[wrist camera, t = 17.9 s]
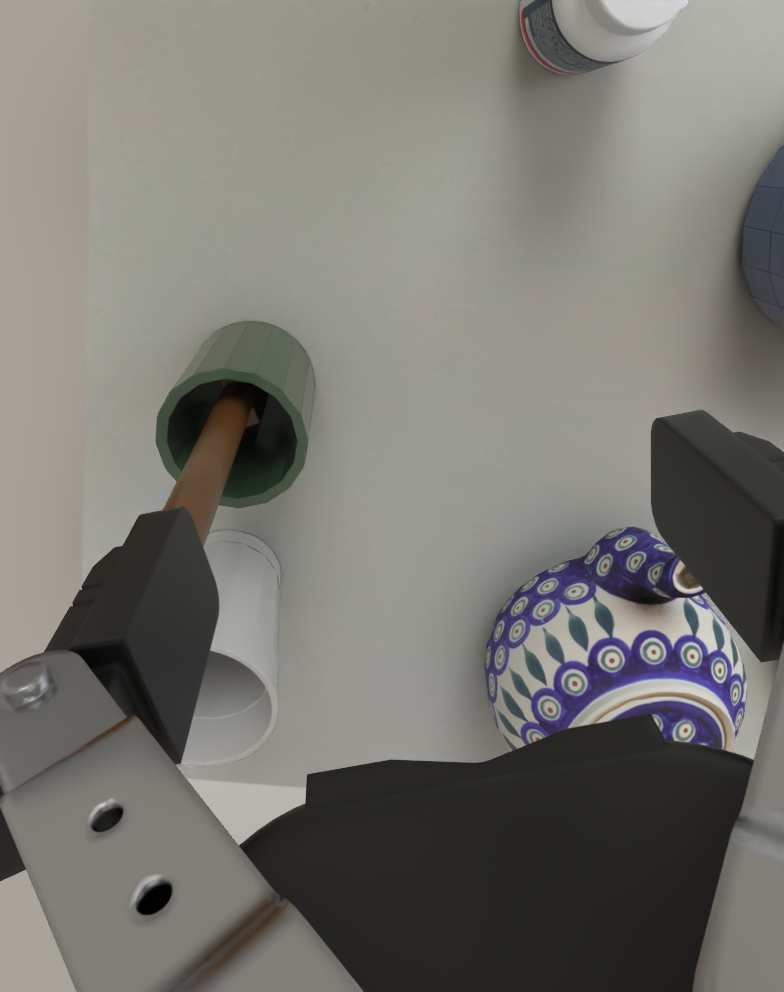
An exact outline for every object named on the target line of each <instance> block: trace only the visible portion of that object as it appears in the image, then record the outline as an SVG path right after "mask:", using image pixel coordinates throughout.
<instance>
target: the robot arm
mask: <svg viewBox="0 0 784 992" xmlns="http://www.w3.org/2000/svg"><path fill="white" fill-rule="evenodd" d="M651 506H652V513H653V517H654V520H655V524H656V526H657V529H658V531H659V533H660V534H661V536H662V537H663V539H664V540H665V541H666V542H667V544H668V545H669V546H670V547H671V549H672V550H673V551H674V553H675V554H676V555H677V556H678V558H679V559H680V560H681V561H682V563H683V564H684V565H685V567H686V568H687V569H688V570H689V572H690V573H691V574H692V575H693V577H694V578H695V579H696V580H697V582H698V583H699V584H700V586H701V587H702V588H703V589H704V591H705V592H706V593H707V594H708V596H709V597H710V598H711V600H712V601H713V602H714V603H715V605H716V606H717V607H718V608H719V610H720V611H721V612H722V613H723V615H724V616H725V617H726V619H727V620H728V621H729V622H730V624H731V625H732V626H733V627H734V629H735V630H736V631H737V633H738V634H739V635H740V636H741V638H742V639H743V640H744V641H745V643H746V644H747V645H748V646H749V648H750V649H751V650H752V652H753V653H754V654H755V655H756V657H757V658H758V659H759V660H760V662H766V661H772V660H777V659H779V663H778V667H777V671H776V675H775V679H774V683H773V687H772V691H771V695H770V699H769V703H768V707H767V711H766V715H765V719H764V722H763V726H762V730H761V734H760V738H759V742H758V746H757V750H756V754H755V758H754V760H752V759H750V758H747V757H745V756H742V755H739V754H736V753H733V752H730V751H726V750H723V749H720V748H715V747H711V746H706V745H702V744H696V743H689V742H682V741H668V740H665V739H664V737H663V735H662V733H661V731H660V729H659V727H658V725H657V724H656V722H655V720H654V718H653V716H652V714H646V715H641V716H635V717H629V718H624V719H618V720H612V721H607V722H601V723H595V724H590V725H584V726H578V727H573V728H567V729H564V730H562V731H559V732H557V733H554V734H552V735H549V736H547V737H545V738H542V739H540V740H537V741H535V742H533V743H530V744H528V745H525V746H523V747H521V748H518V749H516V750H513V751H511V752H508V753H506V754H504V755H501V756H499V757H496V758H494V759H492V760H489V761H486V762H480V763H461V762H436V761H411V760H386V761H381V762H375V763H369V764H364V765H358V766H352V767H347V768H341V769H335V770H330V771H324V772H318V773H313V774H307V786H306V803H305V804H303V805H301V806H298V807H296V808H294V809H292V810H290V811H288V812H286V813H285V814H283V815H281V816H279V817H277V818H276V819H274V820H272V821H271V822H269V823H268V824H266V825H265V826H264V827H262V828H261V829H259V830H258V831H256V832H255V833H254V834H253V835H251V836H250V837H249V838H248V839H247V840H245V841H244V842H243V843H242V844H240V845H238V844H237V843H236V842H235V840H234V839H233V838H232V836H231V835H230V834H229V833H228V831H227V830H226V829H225V828H224V826H223V825H222V824H221V822H220V821H219V820H218V819H217V817H216V816H215V815H214V814H213V813H212V811H211V810H210V809H209V807H208V806H207V805H206V803H205V802H204V801H203V800H202V798H201V797H200V796H199V794H198V793H197V792H196V791H195V790H194V788H193V787H192V786H191V784H190V783H189V782H188V780H187V779H186V778H185V777H184V775H183V774H182V773H181V771H180V770H179V769H178V768H177V766H176V764H181V762H182V758H183V754H184V750H185V746H186V742H187V738H188V734H189V730H190V727H191V723H192V719H193V715H194V711H195V707H196V703H197V699H198V695H199V691H200V687H201V684H202V680H203V676H204V672H205V668H206V664H207V660H208V656H209V652H210V648H211V644H212V641H213V637H214V633H215V629H216V625H217V621H218V617H219V594H218V589H217V584H216V581H215V578H214V575H213V572H212V570H211V567H210V564H209V561H208V559H207V556H206V553H205V550H204V548H203V545H202V542H201V539H200V536H199V534H198V531H197V528H196V525H195V523H194V520H193V518H192V515H191V513H190V512H189V510H188V509H187V508H186V507H177V508H172V509H167V510H162V511H156V512H151V513H146V514H141V515H139V517H138V518H137V520H136V522H135V524H134V526H133V527H132V529H131V531H130V533H129V535H128V537H127V539H126V541H125V543H124V544H123V546H120V547H115V548H113V549H112V550H111V551H110V552H109V553H108V554H107V555H106V556H104V557H103V558H102V559H101V560H100V561H99V562H98V563H97V564H95V565H94V566H93V567H92V569H91V571H90V573H89V574H88V576H87V578H86V580H85V581H84V583H83V585H82V590H79V592H78V594H77V595H76V597H75V599H74V601H73V606H71V607H70V608H69V610H68V611H67V613H66V615H65V616H64V618H63V620H62V621H61V623H60V625H59V627H58V629H57V630H56V632H55V634H54V635H53V638H52V639H51V641H50V642H49V644H48V646H47V648H46V650H45V651H44V653H41V654H38V655H34V656H31V657H29V658H27V659H24V660H22V661H20V662H18V663H16V664H14V665H12V666H11V667H9V668H7V669H6V670H4V671H3V672H1V673H0V881H2V880H4V879H6V878H8V877H11V876H13V875H15V874H17V873H19V872H22V871H24V870H27V873H28V875H29V878H30V880H31V882H32V885H33V887H34V890H35V892H36V895H37V897H38V899H39V902H40V904H41V907H42V909H43V912H44V914H45V916H46V919H47V921H48V924H49V926H50V928H51V931H52V933H53V936H54V938H55V941H56V943H57V945H58V948H59V950H60V952H61V955H62V958H63V960H64V962H65V965H66V967H67V970H68V972H69V974H70V977H71V979H72V982H73V984H74V987H75V989H76V991H77V992H784V452H783V451H781V450H780V449H779V448H777V447H776V446H774V445H773V444H772V443H770V442H769V441H766V440H763V439H760V438H757V437H754V436H751V435H748V434H745V433H742V432H735V433H733V432H731V431H730V430H729V429H728V428H726V427H725V426H724V425H722V424H721V423H720V422H718V421H717V420H716V419H715V418H713V417H712V416H711V415H709V414H708V413H707V412H705V411H704V410H698V411H692V412H687V413H682V414H677V415H671V416H666V417H661V418H656V419H655V420H654V422H653V424H652V429H651Z"/></svg>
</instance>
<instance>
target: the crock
mask: <svg viewBox="0 0 784 992" xmlns="http://www.w3.org/2000/svg"><path fill="white" fill-rule="evenodd" d="M224 379H228V380H234V381H240V382H246V383H251V384H254V385H255V386H257V387H259V388H260V389H262V390H264V391H265V392H267V393H269V396H268V400H267V403H266V406H265V409H264V413H263V416H262V419H261V422H260V423H259V424H256V425H253V426H251V427H248V428H245V430H244V433H243V436H242V439H241V441H240V444H239V447H238V450H237V453H236V456H235V459H234V461H233V464H232V467H231V470H230V473H229V476H228V479H227V482H226V484H225V487H224V490H223V493H222V496H221V499H220V502H219V504H218V505H221V506H228V507H235V508H239V507H240V508H242V507H247V506H252V505H257V504H262V503H266V502H268V501H270V500H272V499H273V498H275V497H276V496H278V495H279V494H281V493H283V492H284V491H286V490H287V489H289V487H291V485H292V484H293V482H294V481H295V479H296V478H297V476H298V475H299V473H300V472H301V470H302V469H303V467H304V464H305V458H306V452H307V446H308V439H309V431H310V423H311V415H312V407H313V398H314V390H315V379H314V371H313V367H312V364H311V361H310V359H309V357H308V355H307V353H306V351H305V350H304V348H303V347H302V346H301V345H300V343H299V342H298V341H297V340H296V339H295V338H294V337H293V336H291V335H290V334H289V333H287V332H286V331H284V330H282V329H280V328H279V327H276V326H274V325H271V324H268V323H264V322H257V321H244V322H238V323H234V324H230V325H228V326H226V327H224V328H222V329H220V330H219V331H217V332H216V333H215V334H213V335H212V336H211V337H210V338H209V339H208V340H206V342H205V343H204V344H203V345H202V347H201V348H200V350H199V351H198V353H197V354H196V355H195V357H194V358H193V360H192V361H191V363H190V364H189V365H188V367H187V368H186V370H185V371H184V373H183V374H182V375H181V377H180V378H179V380H178V381H177V383H176V384H175V385H174V387H173V388H172V390H171V391H170V393H169V395H168V396H167V398H166V400H165V402H164V403H163V405H162V407H161V409H160V411H159V412H158V415H157V426H156V445H157V448H158V450H159V453H160V456H161V458H162V461H163V464H164V466H165V468H166V470H167V471H168V472H169V473H170V475H171V476H172V477H173V478H174V479H175V480H176V481H177V480H178V478H179V476H180V474H181V472H182V470H183V468H184V466H185V464H186V462H187V460H188V458H189V456H190V454H191V452H192V450H193V448H194V446H195V444H196V442H197V440H198V438H199V436H200V434H201V432H202V430H203V428H204V426H205V424H206V422H207V420H208V418H209V416H210V414H211V412H212V410H213V408H214V406H215V404H216V402H217V400H218V398H219V396H220V394H221V392H222V390H223V388H222V386H221V384H220V382H219V380H224Z"/></svg>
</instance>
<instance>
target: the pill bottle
mask: <svg viewBox="0 0 784 992" xmlns="http://www.w3.org/2000/svg"><path fill="white" fill-rule="evenodd" d="M689 1H690V0H521V1H520V26H521V32H522V36H523V39H524V41H525V44H526V46H527V48H528V49H529V51H530V53H531V54H532V56H533V57H534V58H535V59H536V60H537V61H538V62H539V63H540V64H541V65H543V66H544V67H546V68H547V69H549V70H551V71H553V72H556V73H559V74H565V75H574V74H581V73H585V72H589V71H592V70H595V69H598V68H601V67H604V66H607V65H610V64H614V63H617V62H620V61H623V60H626V59H629V58H632V57H634V56H636V55H638V54H640V53H641V52H643V51H645V50H646V49H648V48H649V47H650V46H652V45H653V44H654V43H655V42H656V41H657V40H658V39H659V38H660V37H661V36H662V35H663V34H664V33H665V32H666V30H667V29H668V28H669V26H670V25H671V24H672V22H673V20H674V18H675V17H676V16H677V15H678V14H679V13H680V12H681V11H682V10H683V9H684V8H685V6H686V5H687V4H688V2H689Z"/></svg>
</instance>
